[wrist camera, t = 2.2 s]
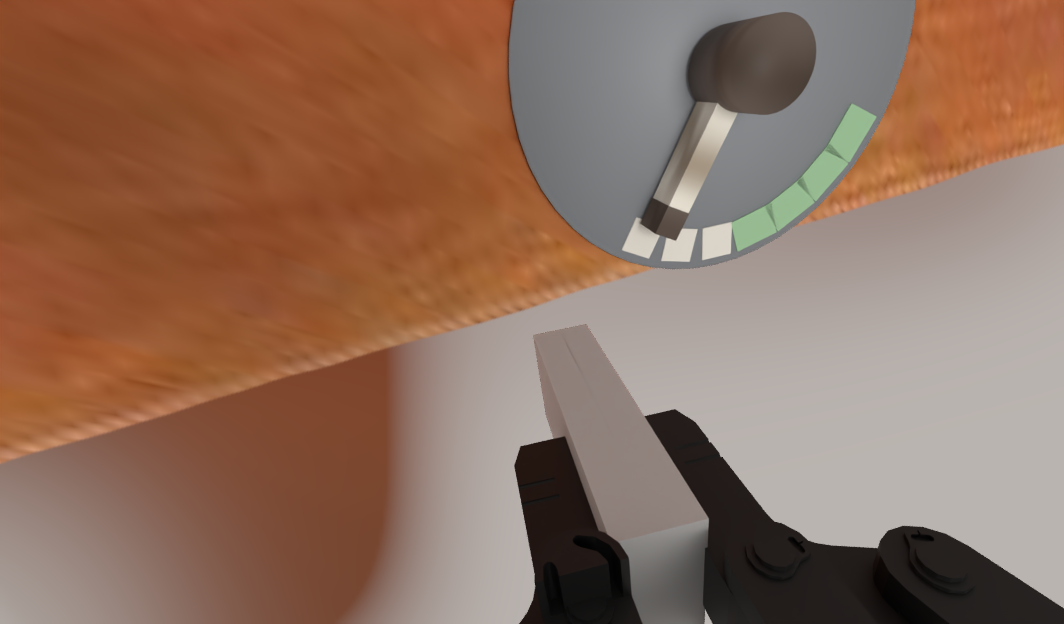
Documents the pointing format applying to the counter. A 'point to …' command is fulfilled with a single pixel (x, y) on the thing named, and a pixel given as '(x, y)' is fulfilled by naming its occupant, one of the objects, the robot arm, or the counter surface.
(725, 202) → the dial
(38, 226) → the counter surface
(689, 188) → the needle
